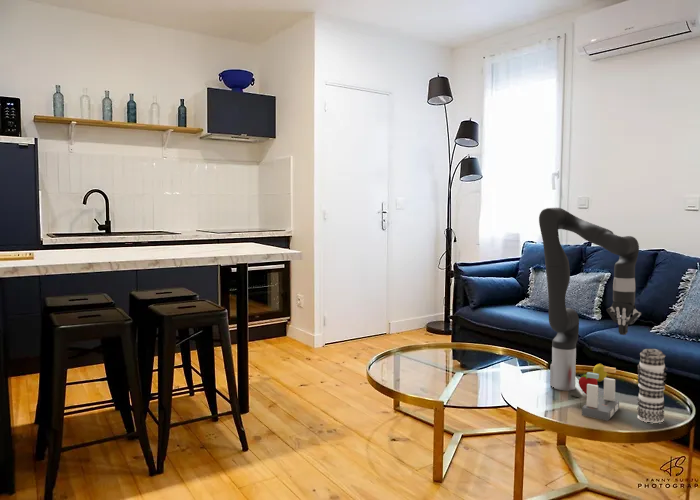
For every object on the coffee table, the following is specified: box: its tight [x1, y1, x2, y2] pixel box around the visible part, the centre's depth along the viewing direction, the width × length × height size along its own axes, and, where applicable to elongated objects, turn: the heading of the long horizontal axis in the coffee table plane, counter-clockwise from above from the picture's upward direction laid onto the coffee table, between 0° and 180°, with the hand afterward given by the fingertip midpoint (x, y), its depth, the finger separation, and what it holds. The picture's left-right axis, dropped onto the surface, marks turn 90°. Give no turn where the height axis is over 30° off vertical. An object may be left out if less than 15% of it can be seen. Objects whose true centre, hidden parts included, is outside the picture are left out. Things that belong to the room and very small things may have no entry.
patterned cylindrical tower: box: [636, 348, 668, 424], centre depth 201 cm, size 9×9×25 cm
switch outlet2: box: [603, 365, 617, 401], centre depth 212 cm, size 4×2×12 cm, turn 51°
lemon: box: [592, 363, 608, 383], centre depth 242 cm, size 6×6×8 cm
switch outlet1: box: [586, 371, 599, 408], centre depth 205 cm, size 4×2×12 cm, turn 51°
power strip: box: [581, 396, 620, 422], centre depth 211 cm, size 9×19×3 cm, turn 141°
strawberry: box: [578, 373, 599, 396], centre depth 226 cm, size 6×8×10 cm
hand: (623, 334), depth 215 cm, fingers closed
